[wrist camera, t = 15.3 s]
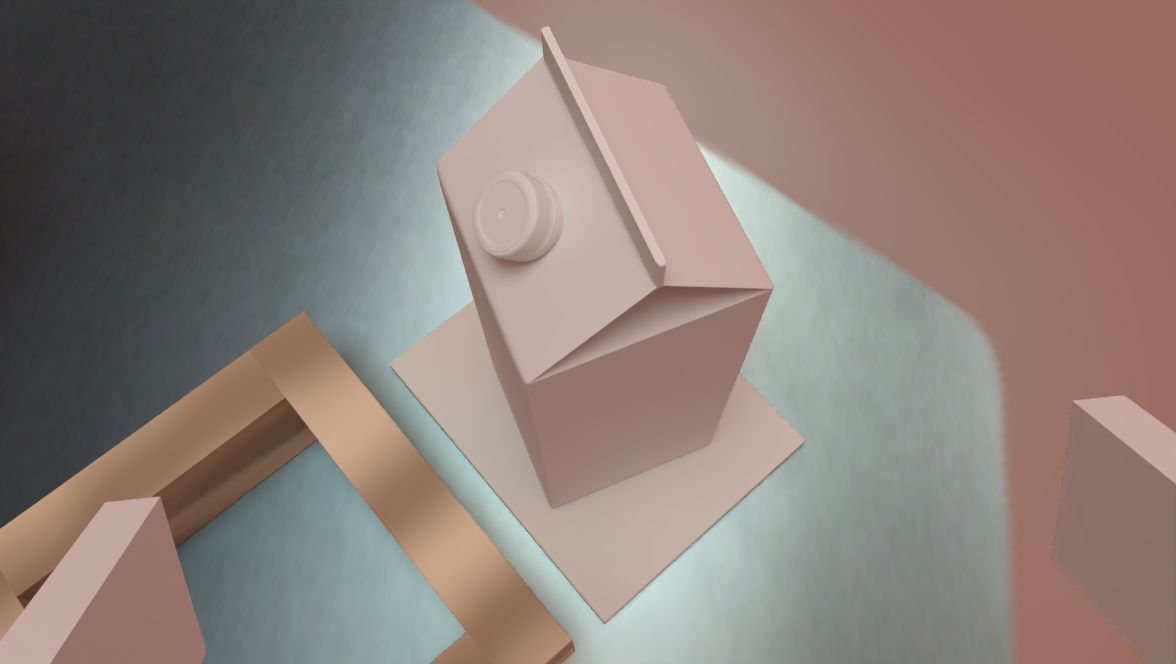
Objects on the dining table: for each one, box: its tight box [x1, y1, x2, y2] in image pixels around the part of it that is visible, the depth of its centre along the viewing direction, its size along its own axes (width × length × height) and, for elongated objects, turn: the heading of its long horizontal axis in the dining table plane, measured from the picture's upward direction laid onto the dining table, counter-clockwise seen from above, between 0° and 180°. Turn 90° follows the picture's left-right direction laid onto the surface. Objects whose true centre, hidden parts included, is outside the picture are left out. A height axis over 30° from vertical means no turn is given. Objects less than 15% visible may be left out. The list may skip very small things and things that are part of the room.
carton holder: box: [0, 311, 575, 664], centre depth 34 cm, size 16×16×5 cm
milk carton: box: [437, 26, 774, 508], centre depth 30 cm, size 7×7×19 cm
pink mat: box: [389, 300, 805, 624], centre depth 39 cm, size 14×11×1 cm
